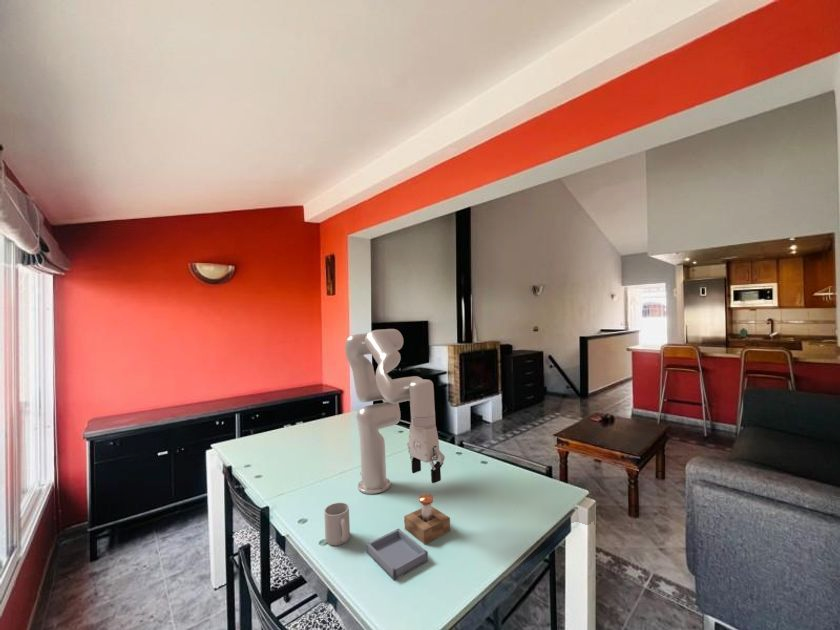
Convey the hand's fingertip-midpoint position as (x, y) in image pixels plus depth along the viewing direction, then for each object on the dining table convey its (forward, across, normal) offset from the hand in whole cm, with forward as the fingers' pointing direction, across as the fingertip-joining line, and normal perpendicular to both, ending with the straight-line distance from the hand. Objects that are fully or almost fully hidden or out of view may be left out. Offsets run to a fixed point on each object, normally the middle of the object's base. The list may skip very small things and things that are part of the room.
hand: (426, 476), depth 109 cm
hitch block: (+16, -1, 0) cm, 17 cm away
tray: (+17, +3, -14) cm, 22 cm away
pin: (+16, -1, 0) cm, 17 cm away
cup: (+16, -14, -23) cm, 32 cm away
